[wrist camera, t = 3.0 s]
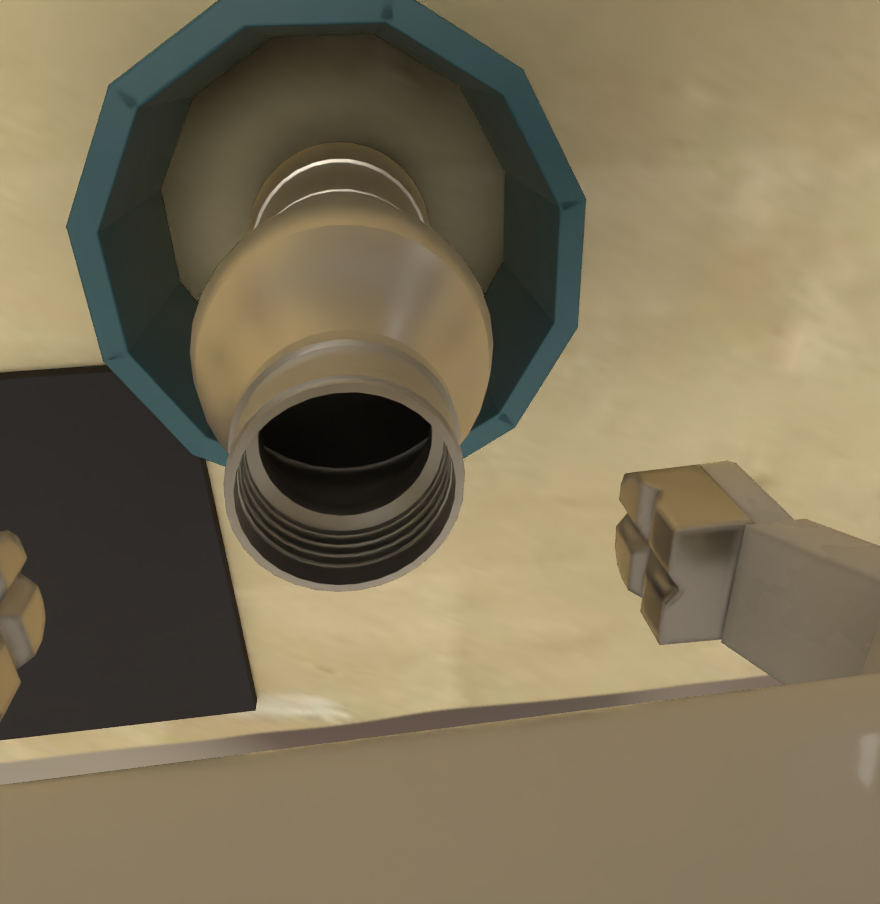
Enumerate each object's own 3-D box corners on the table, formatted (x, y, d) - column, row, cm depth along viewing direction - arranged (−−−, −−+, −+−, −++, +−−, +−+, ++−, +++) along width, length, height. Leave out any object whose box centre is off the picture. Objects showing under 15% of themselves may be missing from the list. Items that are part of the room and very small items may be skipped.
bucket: (99, 14, 24) (1, -6, 17) (528, 2, 25) (601, -21, 18) (187, 409, 31) (143, 511, 24) (519, 383, 32) (568, 472, 25)
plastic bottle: (228, 264, 28) (52, 590, 11) (302, 97, 26) (226, 173, 8) (374, 336, 30) (422, 706, 13) (454, 189, 28) (647, 401, 11)
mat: (-231, 388, 28) (-245, 397, 28) (183, 359, 30) (180, 366, 29) (-49, 734, 38) (-57, 747, 37) (257, 699, 39) (255, 710, 39)
